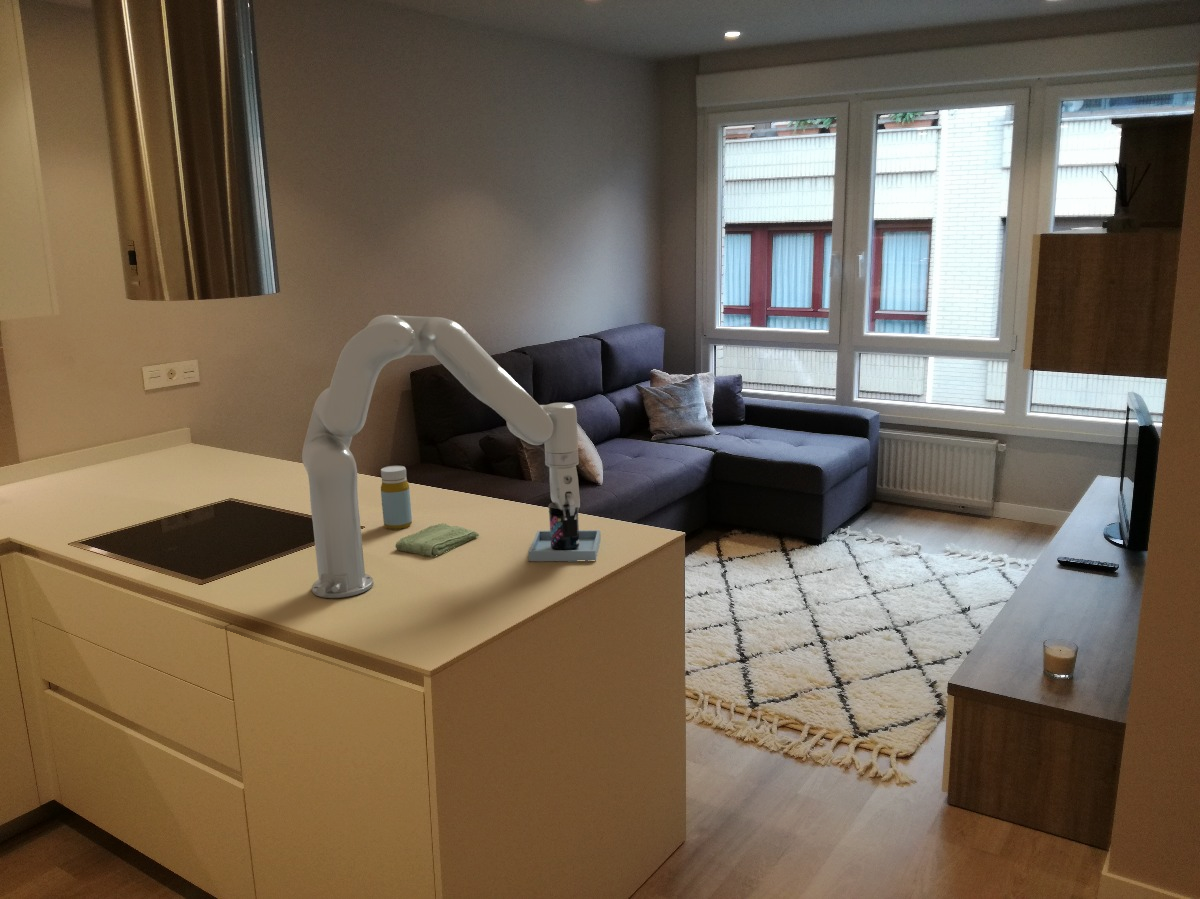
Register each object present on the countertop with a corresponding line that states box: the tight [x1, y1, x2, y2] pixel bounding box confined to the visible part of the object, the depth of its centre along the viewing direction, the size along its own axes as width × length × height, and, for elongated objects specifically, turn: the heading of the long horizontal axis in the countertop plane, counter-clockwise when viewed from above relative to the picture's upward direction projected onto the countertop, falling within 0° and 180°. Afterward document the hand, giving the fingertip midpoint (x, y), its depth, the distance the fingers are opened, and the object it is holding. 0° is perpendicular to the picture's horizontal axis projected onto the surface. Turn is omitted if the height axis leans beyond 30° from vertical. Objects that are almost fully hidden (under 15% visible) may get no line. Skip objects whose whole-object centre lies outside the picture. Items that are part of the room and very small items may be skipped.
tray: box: [528, 529, 602, 562], centre depth 228 cm, size 15×15×2 cm
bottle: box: [380, 465, 413, 530], centre depth 250 cm, size 7×7×15 cm
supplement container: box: [548, 501, 580, 550], centre depth 227 cm, size 7×7×10 cm
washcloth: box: [395, 522, 480, 558], centre depth 236 cm, size 13×18×3 cm
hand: (565, 530), depth 227 cm, fingers open, 9 cm apart
